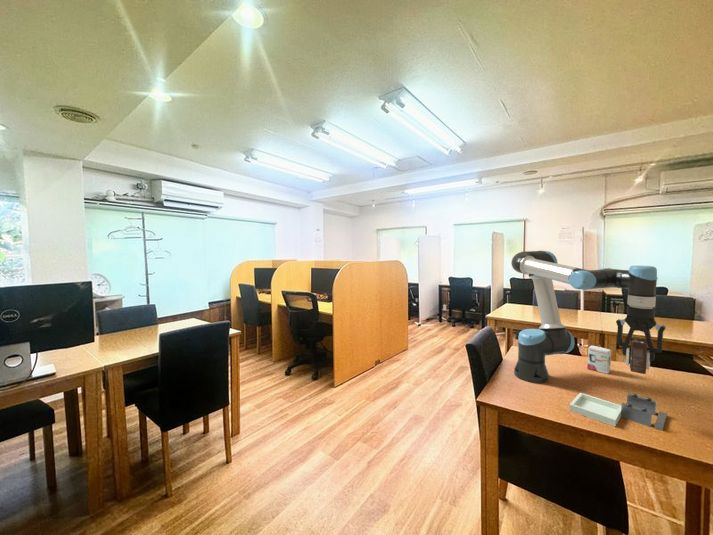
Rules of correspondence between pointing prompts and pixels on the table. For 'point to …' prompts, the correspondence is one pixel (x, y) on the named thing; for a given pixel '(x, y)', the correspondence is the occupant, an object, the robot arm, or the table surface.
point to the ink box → (599, 359)
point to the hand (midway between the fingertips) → (637, 365)
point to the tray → (596, 409)
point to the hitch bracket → (642, 411)
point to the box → (638, 355)
